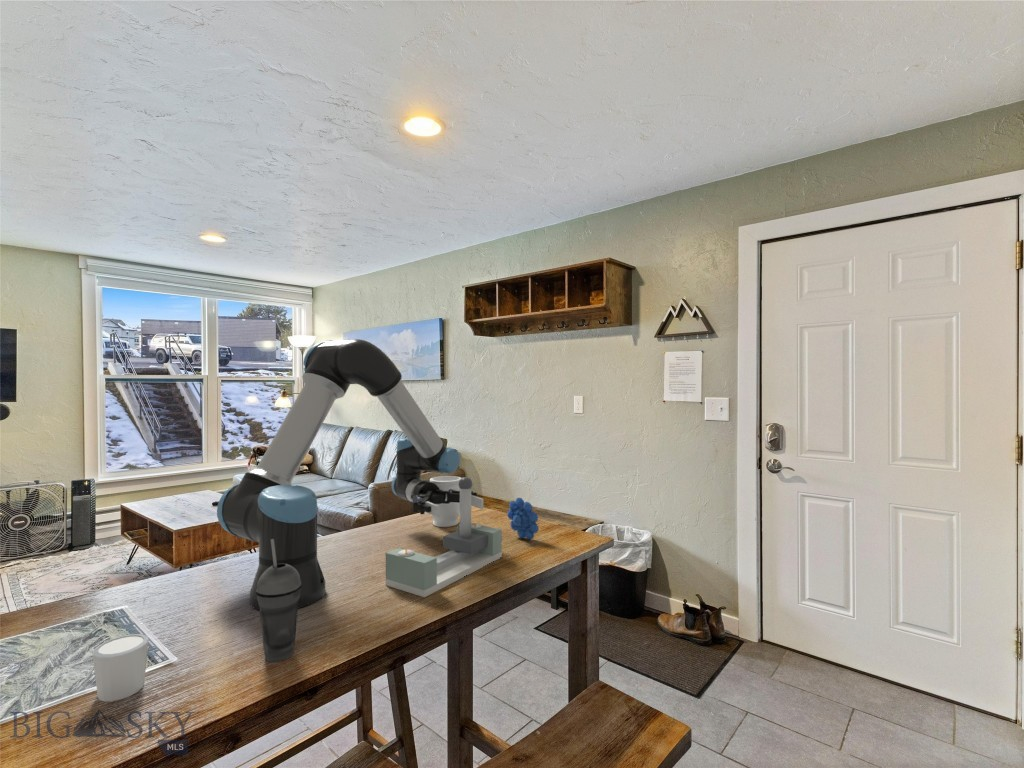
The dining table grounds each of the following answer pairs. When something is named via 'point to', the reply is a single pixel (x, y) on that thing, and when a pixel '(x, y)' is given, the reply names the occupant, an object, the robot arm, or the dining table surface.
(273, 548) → the beverage cup
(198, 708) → the dining table surface
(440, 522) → the jar
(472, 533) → the carriage
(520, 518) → the grapes
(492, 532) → the rail stand
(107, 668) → the white cylinder
